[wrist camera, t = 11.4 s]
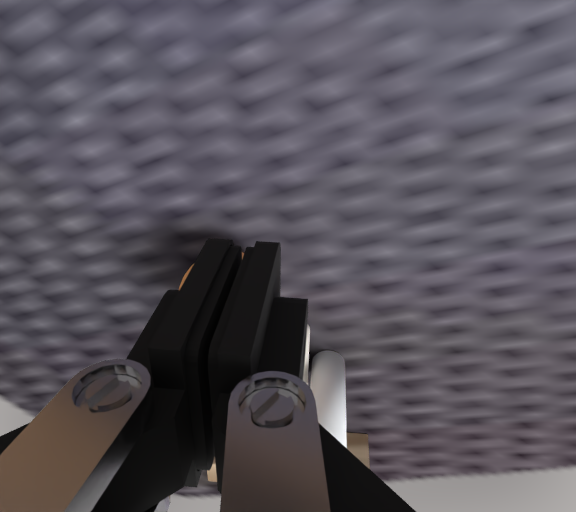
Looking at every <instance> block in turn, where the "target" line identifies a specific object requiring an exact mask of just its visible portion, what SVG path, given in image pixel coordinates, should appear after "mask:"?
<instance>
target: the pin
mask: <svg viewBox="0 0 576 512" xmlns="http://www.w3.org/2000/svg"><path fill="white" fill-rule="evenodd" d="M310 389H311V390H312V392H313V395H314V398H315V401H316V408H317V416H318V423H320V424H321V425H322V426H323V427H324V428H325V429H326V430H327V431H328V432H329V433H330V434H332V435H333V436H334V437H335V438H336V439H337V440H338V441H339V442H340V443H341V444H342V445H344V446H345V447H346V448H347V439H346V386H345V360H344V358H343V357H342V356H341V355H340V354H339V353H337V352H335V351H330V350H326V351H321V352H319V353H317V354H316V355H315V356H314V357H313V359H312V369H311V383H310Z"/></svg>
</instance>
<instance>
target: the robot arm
mask: <svg viewBox="0 0 576 512" xmlns="http://www.w3.org/2000/svg"><path fill="white" fill-rule="evenodd" d="M280 263H281V247H280V243H276V242H259V241H256V243H255V246H254V247H247V248H246V251H245V253H244V256H243V259H242V249H241V246H234V244H233V241H232V240H225V239H208V240H207V241H206V243H205V245H204V247H203V249H202V250H201V252H200V254H199V256H198V258H197V259H196V261H195V263H194V265H193V267H192V269H191V270H190V272H189V274H188V276H187V278H186V279H185V281H184V283H183V285H182V287H181V288H180V290H168V291H167V292H166V293H165V295H164V296H163V298H162V300H161V301H160V303H159V305H158V306H157V308H156V310H155V311H154V313H153V315H152V316H151V318H150V320H149V322H148V323H147V325H146V327H145V328H144V330H143V332H142V333H141V335H140V337H139V338H138V340H137V342H136V343H135V345H134V347H133V348H132V350H131V352H130V353H129V355H128V357H127V359H111V360H105V361H101V362H98V363H95V364H92V365H90V366H88V367H87V368H85V369H83V370H81V371H80V372H78V373H77V374H76V375H75V376H74V377H73V378H71V379H70V380H69V381H68V382H67V384H66V385H65V386H64V387H63V388H62V389H61V390H60V391H59V392H58V393H57V394H56V395H55V396H54V398H53V399H52V400H51V401H50V402H49V403H48V404H47V405H46V406H45V407H44V408H43V409H42V410H41V412H40V413H39V414H38V415H37V416H36V417H35V418H34V419H33V420H32V421H31V422H30V423H28V424H26V425H24V426H22V427H20V428H18V429H16V430H13V431H11V432H9V433H7V434H4V435H2V436H0V512H167V511H168V508H169V505H170V495H171V494H173V493H175V492H176V491H178V490H179V489H181V488H182V487H184V486H189V487H197V485H198V482H199V478H200V475H201V471H202V470H208V471H209V470H210V469H211V467H212V464H213V461H214V457H215V463H216V474H217V486H218V491H219V492H220V493H221V505H220V512H416V511H415V510H414V509H412V508H411V507H410V506H409V505H408V504H407V503H406V502H405V501H404V500H403V499H402V498H400V497H399V496H398V495H397V494H396V493H395V492H394V491H393V490H392V489H391V488H390V487H388V486H387V485H386V484H385V483H384V482H383V481H382V480H381V479H380V478H379V477H377V476H376V475H375V474H374V473H373V472H372V471H371V470H370V469H369V468H368V467H367V466H365V465H364V464H363V463H362V462H361V461H360V460H359V459H358V458H357V457H356V456H355V455H353V454H352V453H351V452H350V451H349V450H348V449H347V448H346V447H345V446H344V445H342V444H341V443H340V442H339V441H338V440H337V439H336V438H335V437H334V436H333V435H332V434H330V433H329V432H328V431H327V430H326V429H325V428H324V427H323V426H322V425H321V424H320V423H318V416H317V408H316V401H315V398H314V395H313V392H312V390H311V389H310V387H309V386H308V385H307V384H306V383H305V382H304V381H303V374H304V364H305V352H306V337H307V317H308V299H299V298H285V297H280Z"/></svg>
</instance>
